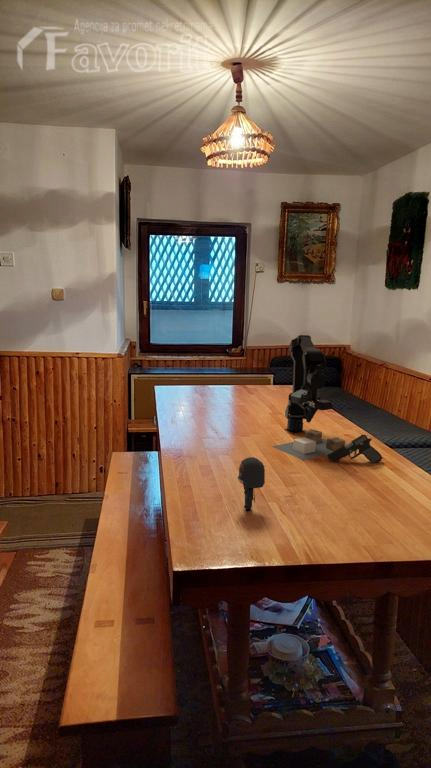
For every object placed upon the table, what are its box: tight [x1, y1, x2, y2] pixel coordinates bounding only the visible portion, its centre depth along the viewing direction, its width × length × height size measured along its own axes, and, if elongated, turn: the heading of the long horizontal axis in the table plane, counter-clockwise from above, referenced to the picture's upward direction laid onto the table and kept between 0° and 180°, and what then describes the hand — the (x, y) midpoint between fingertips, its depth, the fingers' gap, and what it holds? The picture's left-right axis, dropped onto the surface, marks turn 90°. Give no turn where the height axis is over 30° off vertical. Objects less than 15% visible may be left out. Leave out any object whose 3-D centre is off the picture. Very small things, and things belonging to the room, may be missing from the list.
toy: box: [237, 456, 266, 512], centre depth 139 cm, size 9×8×15 cm
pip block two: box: [326, 436, 346, 452], centre depth 195 cm, size 5×5×4 cm
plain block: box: [292, 436, 316, 454], centre depth 192 cm, size 6×6×4 cm
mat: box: [271, 438, 333, 461], centre depth 196 cm, size 18×26×1 cm
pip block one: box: [304, 428, 323, 443], centre depth 204 cm, size 5×5×4 cm
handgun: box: [326, 434, 383, 464], centre depth 181 cm, size 17×2×12 cm
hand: (308, 422), depth 193 cm, fingers closed
